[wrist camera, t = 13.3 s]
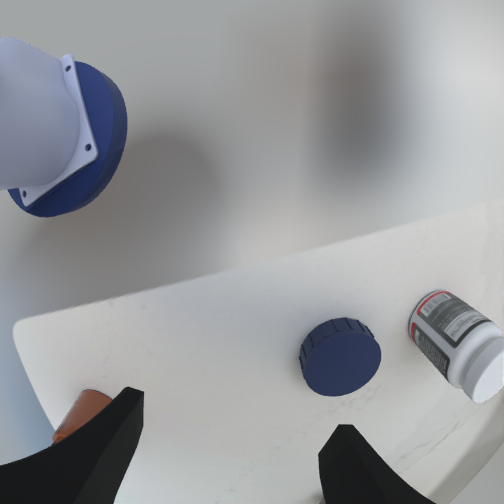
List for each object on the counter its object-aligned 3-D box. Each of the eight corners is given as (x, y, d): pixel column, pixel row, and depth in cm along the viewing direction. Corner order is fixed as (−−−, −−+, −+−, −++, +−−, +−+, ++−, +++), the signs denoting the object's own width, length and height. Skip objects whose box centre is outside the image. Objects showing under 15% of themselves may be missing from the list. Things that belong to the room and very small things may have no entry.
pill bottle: (440, 345, 19) (495, 404, 11) (398, 342, 19) (454, 414, 11) (462, 292, 18) (531, 341, 10) (422, 284, 18) (497, 341, 9)
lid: (353, 382, 19) (360, 399, 18) (288, 373, 19) (291, 392, 17) (383, 324, 18) (395, 338, 16) (314, 309, 18) (321, 325, 16)
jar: (71, 392, 20) (33, 447, 12) (103, 386, 20) (65, 451, 12) (99, 425, 21) (71, 482, 14) (133, 422, 21) (107, 487, 13)
